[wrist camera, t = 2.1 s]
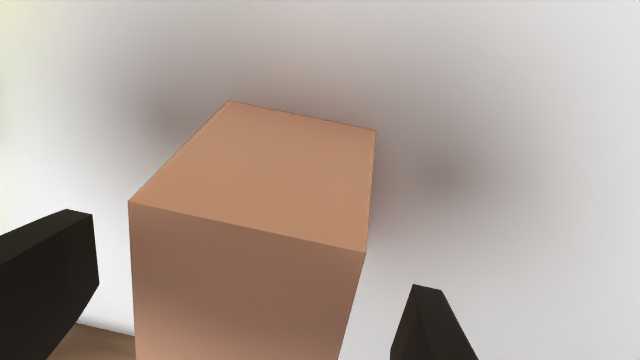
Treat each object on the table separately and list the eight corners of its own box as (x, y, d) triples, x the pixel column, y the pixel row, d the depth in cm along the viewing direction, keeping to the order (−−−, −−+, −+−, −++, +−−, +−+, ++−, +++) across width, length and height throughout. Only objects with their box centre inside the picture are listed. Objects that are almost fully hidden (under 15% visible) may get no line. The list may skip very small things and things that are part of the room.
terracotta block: (376, 130, 13) (366, 253, 8) (347, 249, 16) (325, 407, 10) (228, 100, 14) (127, 201, 8) (220, 222, 16) (136, 363, 11)
